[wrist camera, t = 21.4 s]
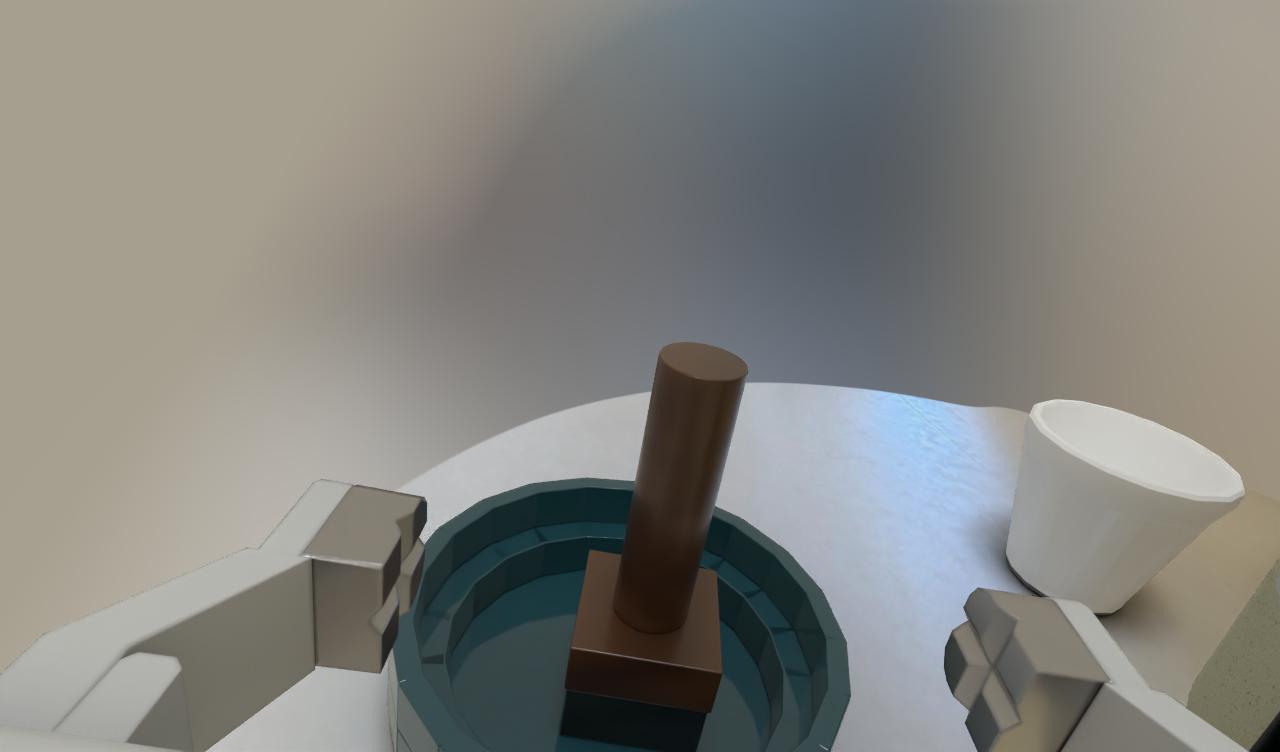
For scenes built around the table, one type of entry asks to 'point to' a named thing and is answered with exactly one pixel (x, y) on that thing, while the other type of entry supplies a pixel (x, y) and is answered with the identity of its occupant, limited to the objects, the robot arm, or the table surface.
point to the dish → (545, 619)
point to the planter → (1246, 674)
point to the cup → (1108, 502)
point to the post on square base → (660, 571)
